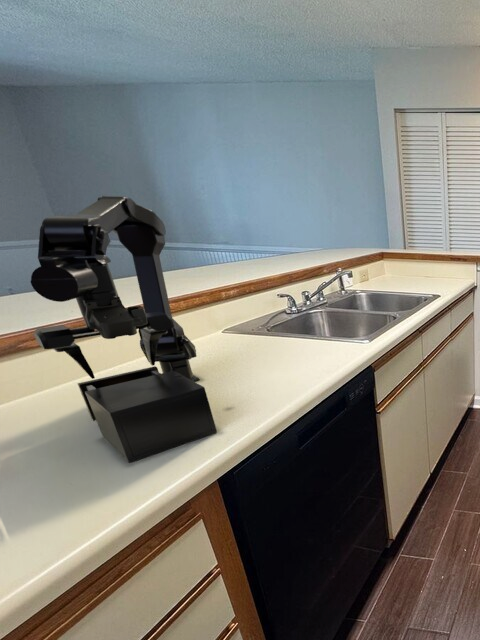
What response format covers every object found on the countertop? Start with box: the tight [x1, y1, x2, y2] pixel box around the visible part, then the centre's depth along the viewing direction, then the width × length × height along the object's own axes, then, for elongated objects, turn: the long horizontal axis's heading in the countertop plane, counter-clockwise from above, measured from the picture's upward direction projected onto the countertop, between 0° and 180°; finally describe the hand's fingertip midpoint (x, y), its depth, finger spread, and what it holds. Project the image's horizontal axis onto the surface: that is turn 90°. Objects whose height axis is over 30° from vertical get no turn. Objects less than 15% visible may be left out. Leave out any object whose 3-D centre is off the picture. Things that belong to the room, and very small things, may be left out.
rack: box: [77, 365, 162, 422], centre depth 84 cm, size 15×12×8 cm
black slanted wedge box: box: [85, 371, 218, 464], centre depth 79 cm, size 15×14×10 cm
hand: (124, 371), depth 83 cm, fingers open, 9 cm apart
